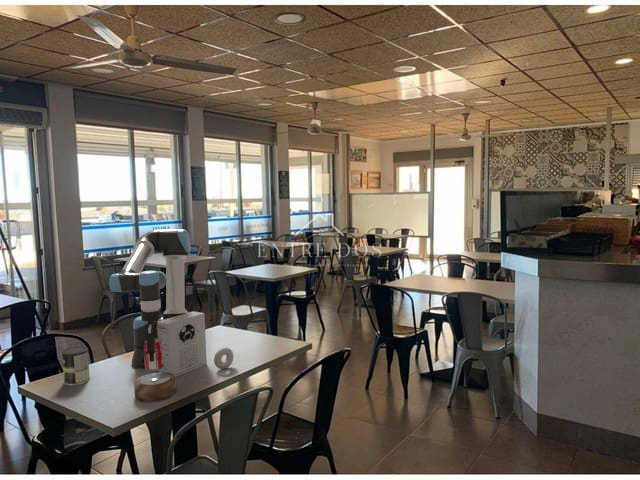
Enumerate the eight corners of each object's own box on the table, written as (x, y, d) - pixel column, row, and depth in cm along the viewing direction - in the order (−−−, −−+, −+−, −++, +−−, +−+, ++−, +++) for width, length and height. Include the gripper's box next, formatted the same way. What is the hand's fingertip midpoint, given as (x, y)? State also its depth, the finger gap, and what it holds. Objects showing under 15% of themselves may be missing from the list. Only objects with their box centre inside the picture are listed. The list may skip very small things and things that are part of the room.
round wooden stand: (126, 396, 195) (125, 381, 194) (159, 383, 208) (158, 368, 207) (151, 405, 186) (150, 389, 185) (184, 391, 199) (183, 375, 198)
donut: (217, 372, 219) (216, 351, 218) (213, 370, 221) (212, 349, 220) (235, 366, 226) (234, 346, 225) (231, 365, 228) (230, 344, 227)
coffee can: (62, 387, 206) (60, 355, 205) (65, 378, 216) (63, 348, 214) (89, 383, 210) (86, 351, 208) (91, 375, 219) (89, 345, 218)
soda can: (157, 364, 201) (155, 336, 200) (166, 368, 196) (165, 339, 195) (141, 369, 195) (139, 340, 194) (151, 373, 191) (149, 344, 190)
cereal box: (196, 361, 234) (193, 311, 232) (207, 364, 230) (204, 313, 227) (159, 376, 216) (156, 321, 214) (170, 379, 212) (167, 323, 209)
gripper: (145, 304, 202) (148, 358, 205) (136, 316, 183) (140, 375, 185) (163, 303, 204) (166, 356, 206) (157, 315, 184) (160, 373, 187)
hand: (154, 365), depth 196 cm, fingers closed on soda can, 7 cm apart
